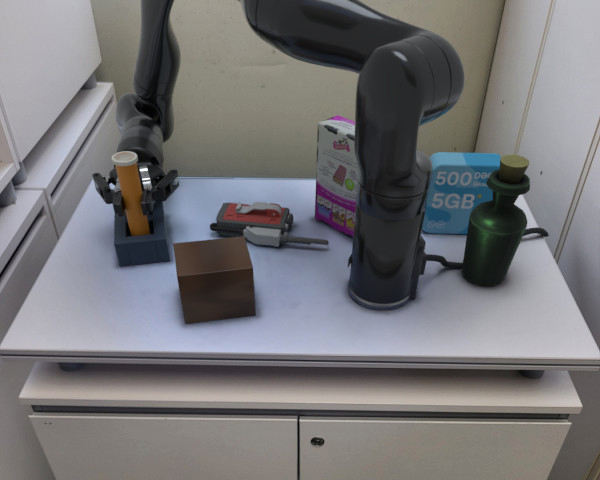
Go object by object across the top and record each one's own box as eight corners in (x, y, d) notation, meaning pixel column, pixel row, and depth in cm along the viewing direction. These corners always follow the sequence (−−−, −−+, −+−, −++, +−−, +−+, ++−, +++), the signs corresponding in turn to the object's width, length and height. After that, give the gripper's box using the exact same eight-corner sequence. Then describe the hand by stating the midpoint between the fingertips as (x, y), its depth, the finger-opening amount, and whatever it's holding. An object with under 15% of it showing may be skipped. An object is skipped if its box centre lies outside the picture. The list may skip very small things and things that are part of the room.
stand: (247, 282, 89) (244, 235, 83) (255, 315, 84) (253, 267, 78) (181, 290, 88) (173, 243, 82) (185, 324, 82) (176, 276, 76)
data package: (420, 233, 99) (432, 164, 90) (417, 219, 102) (429, 151, 93) (491, 235, 99) (511, 165, 90) (486, 221, 102) (505, 153, 93)
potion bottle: (493, 257, 94) (526, 144, 81) (519, 286, 89) (558, 171, 76) (447, 264, 93) (472, 150, 80) (470, 294, 88) (502, 178, 74)
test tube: (154, 241, 96) (137, 150, 85) (155, 253, 94) (137, 161, 83) (132, 243, 96) (111, 152, 85) (132, 255, 93) (111, 163, 82)
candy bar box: (380, 233, 99) (393, 134, 87) (360, 244, 97) (370, 144, 85) (333, 208, 104) (338, 112, 93) (313, 218, 102) (315, 121, 90)
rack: (165, 217, 102) (161, 195, 99) (170, 261, 93) (166, 238, 90) (119, 221, 101) (114, 199, 98) (119, 266, 92) (114, 244, 89)
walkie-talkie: (206, 242, 97) (327, 254, 95) (203, 217, 93) (328, 229, 91) (220, 215, 103) (333, 225, 101) (217, 191, 99) (335, 201, 97)
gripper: (91, 136, 95) (76, 188, 83) (179, 133, 96) (176, 184, 84) (102, 181, 100) (89, 235, 89) (185, 177, 102) (183, 230, 90)
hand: (132, 210), depth 87 cm, fingers closed on test tube, 3 cm apart
